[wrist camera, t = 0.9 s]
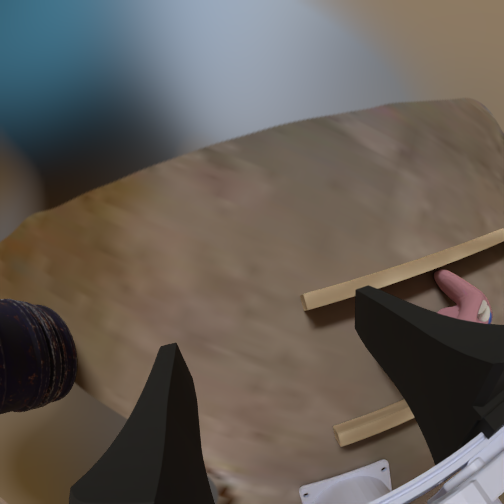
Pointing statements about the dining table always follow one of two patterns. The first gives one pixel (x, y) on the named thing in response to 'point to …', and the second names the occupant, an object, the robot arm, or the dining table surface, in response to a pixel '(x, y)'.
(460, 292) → the video game controller
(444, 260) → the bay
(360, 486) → the robot arm
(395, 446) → the dining table surface
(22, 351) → the storage jar
